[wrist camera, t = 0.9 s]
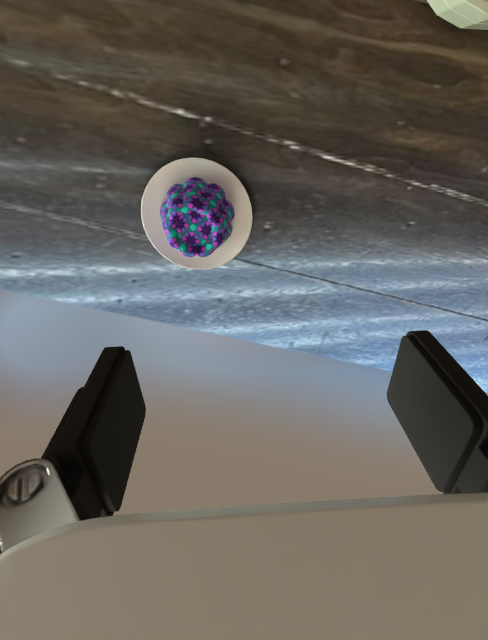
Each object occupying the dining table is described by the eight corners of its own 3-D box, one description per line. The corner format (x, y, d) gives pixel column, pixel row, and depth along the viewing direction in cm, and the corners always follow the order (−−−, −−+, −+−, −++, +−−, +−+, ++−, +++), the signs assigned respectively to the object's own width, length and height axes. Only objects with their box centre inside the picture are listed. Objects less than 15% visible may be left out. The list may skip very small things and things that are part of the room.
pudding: (118, 197, 35) (103, 209, 31) (213, 131, 32) (211, 134, 28) (185, 284, 41) (180, 305, 37) (271, 234, 38) (276, 251, 34)
